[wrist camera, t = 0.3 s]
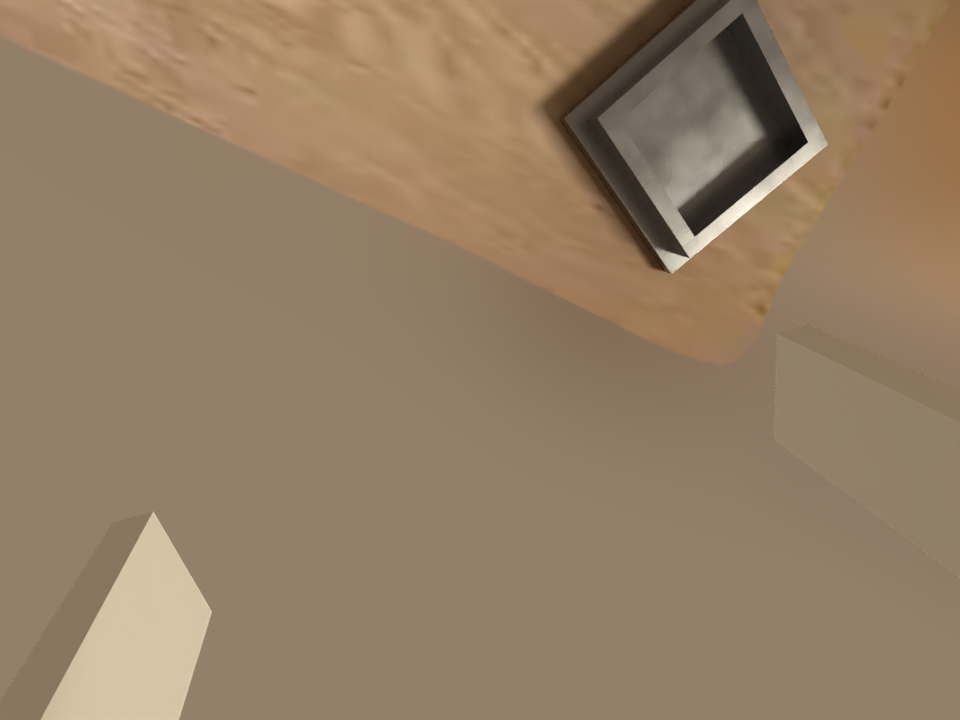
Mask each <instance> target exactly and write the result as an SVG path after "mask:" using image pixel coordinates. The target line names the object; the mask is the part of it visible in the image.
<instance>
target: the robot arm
mask: <svg viewBox="0 0 960 720" xmlns="http://www.w3.org/2000/svg"><path fill="white" fill-rule="evenodd" d="M773 439H774V440H775V441H776V442H778V443H779V444H780V445H781V446H783V447H784V448H785V449H787V450H788V451H790V452H791V453H792V454H794V455H795V456H796V457H798V458H799V459H800V460H802V461H803V462H804V463H806V464H807V465H808V466H810V467H811V468H812V469H814V470H815V471H817V472H818V473H819V474H820V475H822V476H823V477H824V478H826V479H827V480H828V481H830V482H831V483H833V484H834V485H835V486H837V487H838V488H839V489H841V490H842V491H843V492H845V493H846V494H847V495H849V496H850V497H852V498H853V499H854V500H855V501H857V502H858V503H859V504H861V505H862V506H863V507H865V508H866V509H867V510H869V511H870V512H872V513H873V514H874V515H875V516H877V517H878V518H879V519H881V520H882V521H883V522H885V523H886V524H888V525H889V526H890V527H892V528H893V529H894V530H896V531H897V532H898V533H900V534H901V535H902V536H904V537H905V538H906V539H908V540H909V541H910V542H912V543H913V544H915V545H916V546H917V547H919V548H920V549H921V550H922V551H924V552H925V553H926V554H928V555H929V556H930V557H932V558H933V559H935V560H936V561H937V562H939V563H940V564H941V565H943V566H944V567H945V568H947V569H948V570H950V571H951V572H952V573H953V574H955V575H956V576H957V577H959V578H960V389H958V388H955V387H953V386H951V385H949V384H946V383H944V382H942V381H939V380H937V379H934V378H932V377H930V376H928V375H925V374H923V373H921V372H918V371H916V370H914V369H911V368H909V367H906V366H904V365H902V364H899V363H897V362H895V361H893V360H890V359H888V358H886V357H883V356H881V355H879V354H876V353H874V352H872V351H869V350H867V349H865V348H862V347H860V346H858V345H856V344H853V343H851V342H848V341H846V340H844V339H842V338H839V337H837V336H835V335H832V334H830V333H828V332H825V331H823V330H821V329H818V328H816V327H814V326H811V325H805V326H802V327H798V328H795V329H791V330H788V331H784V332H781V333H777V345H776V374H775V404H774V434H773ZM211 613H212V611H211V610H210V608H209V606H208V604H207V603H206V601H205V599H204V598H203V596H202V594H201V592H200V591H199V589H198V587H197V586H196V584H195V582H194V580H193V579H192V577H191V575H190V574H189V572H188V570H187V568H186V567H185V565H184V563H183V562H182V560H181V558H180V556H179V555H178V553H177V551H176V550H175V548H174V546H173V544H172V543H171V541H170V539H169V538H168V536H167V534H166V532H165V531H164V529H163V527H162V526H161V524H160V522H159V520H158V519H157V517H156V515H155V514H154V512H150V513H146V514H142V515H139V516H135V517H132V518H128V519H125V520H121V521H118V522H114V523H112V524H111V525H110V527H109V528H108V530H107V532H106V533H105V535H104V536H103V538H102V540H101V541H100V543H99V544H98V546H97V547H96V549H95V551H94V552H93V554H92V555H91V557H90V559H89V560H88V562H87V563H86V565H85V566H84V568H83V570H82V572H81V573H80V574H79V576H78V578H77V579H76V581H75V582H74V584H73V586H72V587H71V589H70V590H69V592H68V593H67V595H66V597H65V598H64V600H63V601H62V603H61V605H60V606H59V608H58V609H57V611H56V613H55V614H54V616H53V617H52V619H51V620H50V622H49V624H48V625H47V627H46V628H45V630H44V631H43V633H42V635H41V636H40V638H39V639H38V641H37V643H36V644H35V646H34V647H33V649H32V650H31V652H30V654H29V655H28V657H27V658H26V660H25V662H24V663H23V665H22V666H21V668H20V669H19V671H18V673H17V674H16V676H15V678H14V679H13V681H12V682H11V684H10V686H9V687H8V689H7V690H6V692H5V693H4V695H3V696H2V698H1V700H0V720H179V717H180V714H181V711H182V708H183V704H184V701H185V698H186V694H187V691H188V688H189V685H190V681H191V678H192V675H193V672H194V668H195V665H196V662H197V659H198V655H199V652H200V649H201V646H202V642H203V639H204V635H205V633H206V629H207V626H208V623H209V620H210V616H211Z"/></svg>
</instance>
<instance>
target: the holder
mask: <svg viewBox="0 0 960 720" xmlns="http://www.w3.org/2000/svg"><path fill="white" fill-rule="evenodd" d="M560 121H561V122H562V124H563V125H564V126H565V128H566V129H567V131H568V132H569V134H570V135H571V137H572V138H573V139H574V141H575V142H576V144H577V145H578V147H579V148H580V150H581V151H582V152H583V154H584V155H585V157H586V158H587V160H588V161H589V163H590V164H591V165H592V167H593V168H594V170H595V171H596V173H597V174H598V176H599V177H600V178H601V180H602V181H603V183H604V184H605V186H606V187H607V189H608V190H609V191H610V193H611V194H612V196H613V197H614V199H615V200H616V202H617V203H618V204H619V206H620V207H621V209H622V210H623V212H624V213H625V215H626V216H627V217H628V219H629V220H630V222H631V223H632V225H633V226H634V228H635V229H636V230H637V232H638V233H639V235H640V236H641V238H642V239H643V241H644V242H645V244H646V245H647V246H648V248H649V249H650V251H651V252H652V254H653V255H654V257H655V258H656V259H657V261H658V262H659V264H660V265H661V267H662V268H663V270H664V271H665V272H667V273H670V274H672V273H673V272H675V271H676V270H677V269H678V268H679V267H681V266H682V265H683V264H684V263H685V262H687V261H688V260H689V259H690V258H692V257H693V256H694V255H695V254H696V253H698V252H699V251H700V250H701V249H702V248H704V247H705V246H706V245H707V244H708V243H710V242H711V241H712V240H713V239H714V238H716V237H717V236H718V235H719V234H720V233H722V232H723V231H724V230H725V229H727V228H728V227H729V226H730V225H731V224H733V223H734V222H735V221H736V220H737V219H739V218H740V217H741V216H742V215H743V214H745V213H746V212H747V211H748V210H749V209H751V208H752V207H753V206H754V205H755V204H757V203H758V202H759V201H760V200H762V199H763V198H764V197H765V196H766V195H768V194H769V193H770V192H771V191H772V190H774V189H775V188H776V187H777V186H778V185H780V184H781V183H782V182H783V181H784V180H786V179H787V178H788V177H789V176H790V175H792V174H793V173H794V172H795V171H796V170H798V169H799V168H800V167H801V166H803V165H804V164H805V163H806V162H807V161H809V160H810V159H811V158H812V157H813V156H815V155H816V154H817V153H818V152H819V151H821V150H822V149H823V148H824V147H825V146H827V145H828V144H827V142H826V140H825V138H824V136H823V134H822V132H821V130H820V128H819V126H818V124H817V122H816V120H815V117H814V115H813V113H812V111H811V109H810V107H809V105H808V103H807V101H806V99H805V97H804V95H803V93H802V91H801V89H800V87H799V85H798V83H797V81H796V79H795V77H794V75H793V73H792V71H791V69H790V67H789V65H788V63H787V61H786V59H785V57H784V55H783V53H782V51H781V49H780V47H779V45H778V43H777V41H776V39H775V37H774V35H773V33H772V31H771V29H770V27H769V25H768V23H767V21H766V19H765V17H764V15H763V13H762V11H761V9H760V7H759V5H758V3H757V1H756V0H693V1H692V2H691V3H690V4H689V5H687V6H686V7H685V8H684V9H683V10H682V11H681V12H680V13H678V14H677V15H676V16H675V17H674V18H673V19H672V20H671V21H670V22H668V23H667V24H666V25H665V26H664V27H663V28H662V29H661V30H659V31H658V32H657V33H656V34H655V35H654V36H653V37H652V38H650V39H649V40H648V41H647V42H646V43H645V44H644V45H643V46H642V47H640V48H639V49H638V50H637V51H636V52H635V53H634V54H633V55H631V56H630V57H629V58H628V59H627V60H626V61H625V62H624V63H623V64H621V65H620V66H619V67H618V68H617V69H616V70H615V71H614V72H612V73H611V74H610V75H609V76H608V77H607V78H606V79H605V80H603V81H602V82H601V83H600V84H599V85H598V86H597V87H596V88H595V89H593V90H592V91H591V92H590V93H589V94H588V95H587V96H586V97H584V98H583V99H582V100H581V101H580V102H579V103H578V104H577V105H576V106H574V107H573V108H572V109H571V110H570V111H569V112H568V113H567V114H565V115H564V116H563V117H562V118H561V119H560Z"/></svg>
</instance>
